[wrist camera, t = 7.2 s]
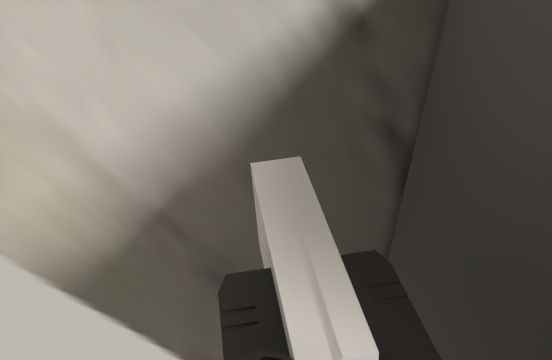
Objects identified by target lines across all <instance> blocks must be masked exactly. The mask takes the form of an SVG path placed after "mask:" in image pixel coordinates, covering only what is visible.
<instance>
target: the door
mask: <svg viewBox="0 0 552 360" xmlns="http://www.w3.org/2000/svg"><path fill="white" fill-rule="evenodd" d="M387 261H389V262H390V263H391V264H392V266H393V268H394V270H395V272H396V274H397V276H398V277H399V279H400V283H401V284H402V285H403V287H404V289H405V291H406V293H407V295H408V299H410V301H411V303H412V304H413V306H414V308H415V310H416V312H417V314H418V316H419V318H420V320H421V322H422V324H423V326H424V328H425V330H426V331H427V333H428V335H429V337H430V339H431V341H432V343H433V345H434V347H435V349H436V351H437V352H438V354H439V355H440V357H441V358H442V360H552V0H450V1H449V5H448V9H447V14H446V18H445V22H444V26H443V30H442V34H441V39H440V43H439V47H438V51H437V55H436V60H435V64H434V68H433V72H432V76H431V80H430V85H429V89H428V93H427V97H426V101H425V106H424V110H423V114H422V118H421V122H420V126H419V131H418V135H417V139H416V143H415V147H414V152H413V156H412V160H411V164H410V168H409V172H408V177H407V181H406V185H405V189H404V193H403V198H402V202H401V206H400V210H399V214H398V218H397V223H396V227H395V231H394V235H393V239H392V244H391V248H390V252H389V256H388V260H387Z"/></svg>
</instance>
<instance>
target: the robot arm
mask: <svg viewBox="0 0 552 360" xmlns="http://www.w3.org/2000/svg"><path fill="white" fill-rule="evenodd" d="M250 165H251V174H252V183H253V192H254V201H255V211H256V220H257V229H258V238H259V246H260V251H261V256H262V260H263V265H264V269H259V270H252V271H246V272H240V273H233V274H227V275H226V276H225V279H224V281H223V283H222V285H221V288H220V290H219V292H218V295H219V307H220V319H221V329H222V342H223V354H224V360H442V358H441V357H440V355H439V354H438V352H437V351H436V349H435V347H434V345H433V343H432V341H431V339H430V337H429V335H428V333H427V331H426V330H425V328H424V326H423V324H422V322H421V320H420V318H419V316H418V314H417V312H416V310H415V308H414V306H413V304H412V303H411V301H410V299H408V295H407V293H406V291H405V289H404V287H403V285H402V284H401V283H400V279H399V277H398V276H397V274H396V272H395V270H394V268H393V266H392V264H391V263H390V262H389V261H387V260H386V259H385V258H384V257H383V256H381V255H380V254H379V253H378V252H376V251H375V250H372V251H366V252H359V253H353V254H346V255H340V254H339V251H338V249H337V246H336V244H335V241H334V239H333V236H332V234H331V231H330V229H329V226H328V224H327V221H326V219H325V216H324V214H323V211H322V209H321V206H320V204H319V201H318V199H317V196H316V194H315V191H314V189H313V186H312V184H311V181H310V179H309V176H308V174H307V171H306V169H305V166H304V164H303V161H302V159H301V156H299V157H292V158H284V159H277V160H269V161H262V162H255V163H250Z"/></svg>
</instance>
